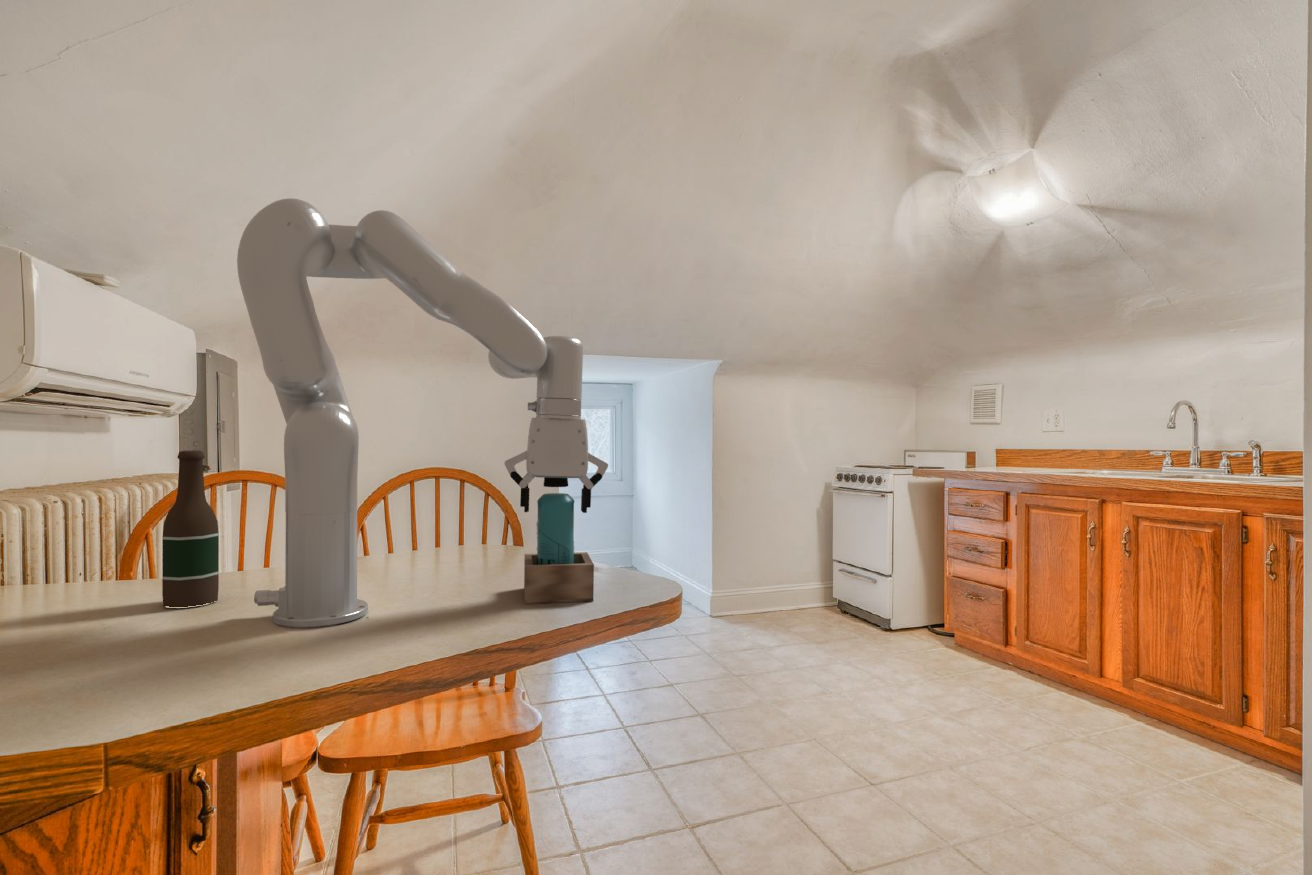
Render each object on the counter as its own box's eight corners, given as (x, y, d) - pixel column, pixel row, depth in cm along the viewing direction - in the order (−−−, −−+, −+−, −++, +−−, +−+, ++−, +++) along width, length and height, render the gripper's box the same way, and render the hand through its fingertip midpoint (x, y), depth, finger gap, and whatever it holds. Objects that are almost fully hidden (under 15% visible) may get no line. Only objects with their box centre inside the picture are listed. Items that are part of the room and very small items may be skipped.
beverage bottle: (578, 587, 118) (579, 472, 118) (569, 597, 111) (571, 475, 111) (541, 586, 118) (542, 472, 118) (530, 595, 112) (531, 474, 112)
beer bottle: (229, 601, 108) (230, 450, 107) (174, 612, 101) (174, 452, 101) (205, 594, 112) (206, 449, 112) (151, 604, 105) (151, 450, 105)
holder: (524, 603, 109) (525, 566, 108) (524, 587, 119) (524, 553, 119) (593, 601, 111) (593, 564, 111) (586, 585, 122) (587, 552, 121)
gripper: (505, 407, 109) (502, 513, 109) (612, 411, 113) (609, 514, 113) (506, 409, 116) (503, 508, 117) (606, 413, 120) (603, 509, 120)
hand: (555, 511), depth 115 cm, fingers open, 9 cm apart
